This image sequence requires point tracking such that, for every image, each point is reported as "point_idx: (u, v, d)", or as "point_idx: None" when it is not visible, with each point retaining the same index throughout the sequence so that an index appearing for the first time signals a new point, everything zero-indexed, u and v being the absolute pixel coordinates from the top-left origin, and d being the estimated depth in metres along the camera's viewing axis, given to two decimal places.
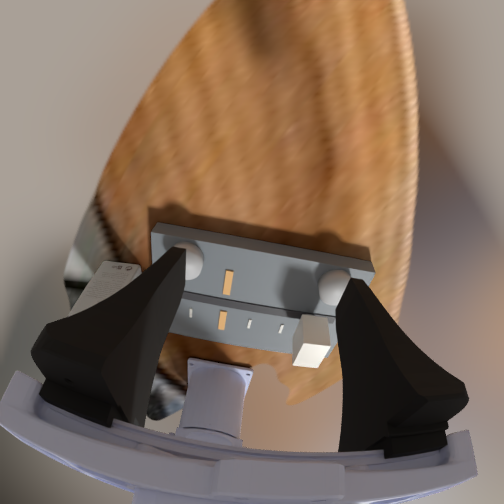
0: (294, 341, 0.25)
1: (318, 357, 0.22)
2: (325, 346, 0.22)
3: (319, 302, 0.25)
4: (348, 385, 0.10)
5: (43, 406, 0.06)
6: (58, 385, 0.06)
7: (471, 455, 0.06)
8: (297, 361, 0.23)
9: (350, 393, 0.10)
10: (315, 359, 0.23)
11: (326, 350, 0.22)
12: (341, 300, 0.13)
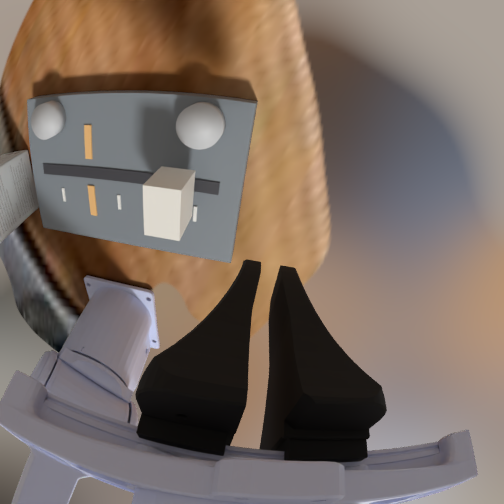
0: None
1: (172, 215, 0.16)
2: (174, 191, 0.15)
3: (191, 157, 0.18)
4: (270, 378, 0.10)
5: (43, 406, 0.06)
6: (159, 419, 0.06)
7: (471, 455, 0.06)
8: (147, 226, 0.16)
9: (271, 387, 0.10)
10: (169, 221, 0.16)
11: (178, 200, 0.15)
12: (274, 290, 0.13)
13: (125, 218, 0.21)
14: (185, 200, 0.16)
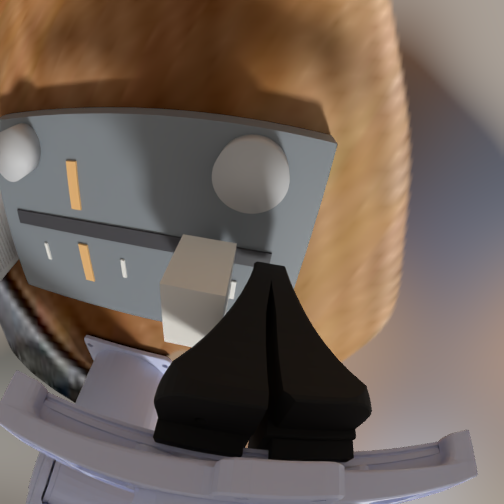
0: None
1: (208, 325, 0.10)
2: (213, 295, 0.10)
3: (230, 218, 0.13)
4: None
5: (43, 406, 0.06)
6: (176, 423, 0.06)
7: (471, 455, 0.06)
8: (169, 332, 0.11)
9: None
10: (204, 330, 0.11)
11: (219, 307, 0.10)
12: None
13: (133, 288, 0.16)
14: (226, 297, 0.11)
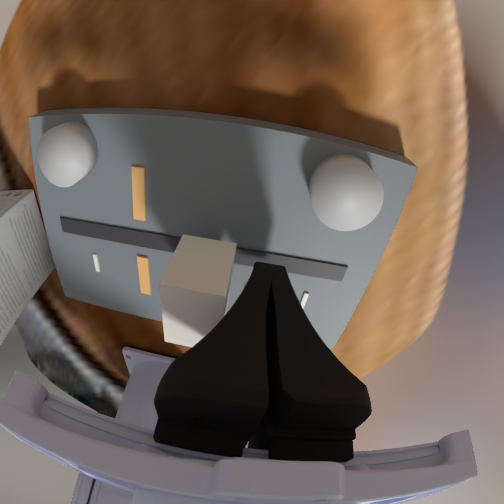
0: None
1: (208, 325, 0.10)
2: (213, 296, 0.10)
3: (314, 233, 0.13)
4: None
5: (43, 406, 0.06)
6: (176, 424, 0.06)
7: (471, 455, 0.06)
8: (169, 332, 0.11)
9: None
10: (204, 330, 0.11)
11: (219, 307, 0.10)
12: None
13: None
14: (226, 298, 0.11)
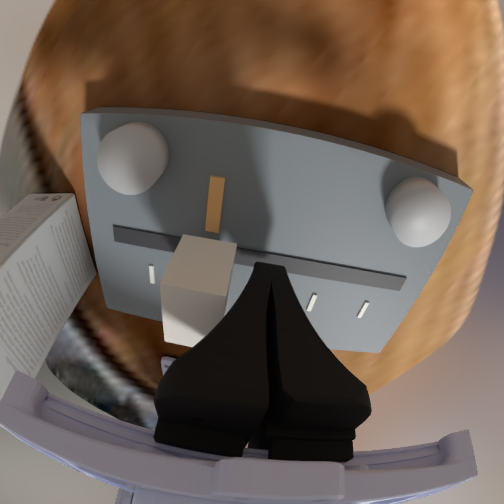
0: None
1: (208, 324, 0.10)
2: (213, 296, 0.10)
3: (383, 247, 0.13)
4: None
5: (43, 406, 0.06)
6: (176, 424, 0.06)
7: (471, 455, 0.06)
8: (169, 332, 0.11)
9: None
10: (204, 330, 0.11)
11: (220, 307, 0.10)
12: None
13: None
14: (227, 298, 0.11)
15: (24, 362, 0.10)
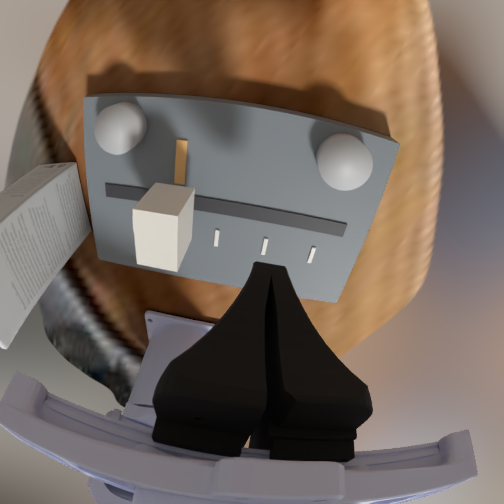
0: None
1: (168, 244, 0.14)
2: (169, 216, 0.13)
3: (320, 195, 0.16)
4: None
5: (43, 406, 0.06)
6: (174, 423, 0.06)
7: (471, 455, 0.06)
8: (140, 254, 0.14)
9: None
10: (165, 250, 0.14)
11: (174, 227, 0.13)
12: None
13: (221, 256, 0.19)
14: (183, 225, 0.14)
15: (25, 290, 0.13)
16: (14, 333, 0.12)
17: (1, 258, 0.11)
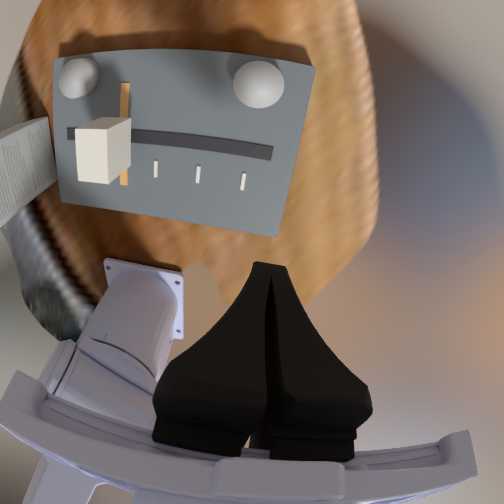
0: None
1: (100, 157, 0.14)
2: (101, 131, 0.13)
3: (243, 119, 0.17)
4: None
5: (43, 406, 0.06)
6: (175, 423, 0.06)
7: (471, 455, 0.06)
8: (80, 171, 0.15)
9: None
10: (98, 163, 0.14)
11: (104, 139, 0.13)
12: None
13: (161, 187, 0.20)
14: (115, 143, 0.15)
15: None
16: None
17: None
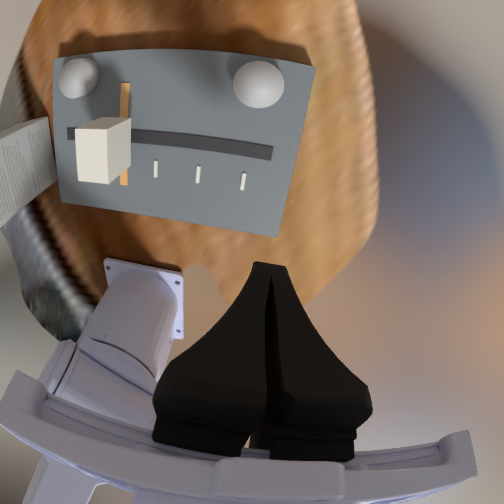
0: None
1: (100, 157, 0.14)
2: (101, 131, 0.13)
3: (243, 119, 0.17)
4: None
5: (43, 406, 0.06)
6: (175, 423, 0.06)
7: (471, 455, 0.06)
8: (80, 171, 0.15)
9: None
10: (98, 163, 0.14)
11: (104, 139, 0.13)
12: None
13: (161, 187, 0.20)
14: (115, 143, 0.15)
15: None
16: None
17: None
